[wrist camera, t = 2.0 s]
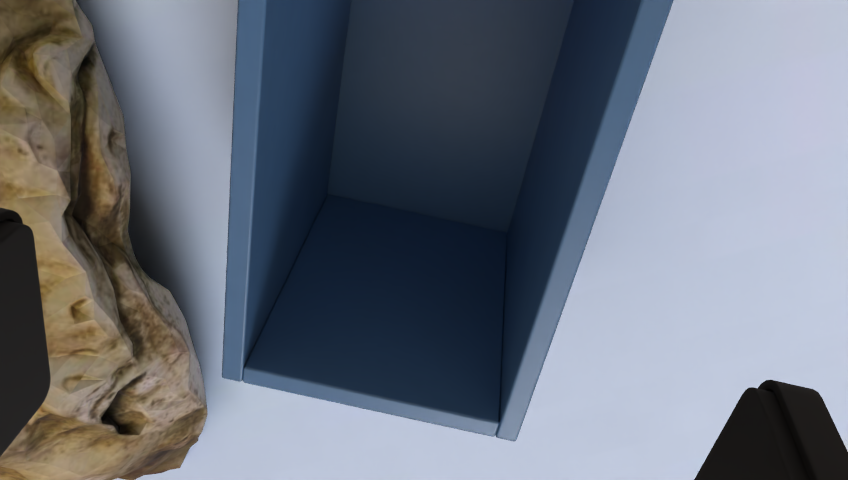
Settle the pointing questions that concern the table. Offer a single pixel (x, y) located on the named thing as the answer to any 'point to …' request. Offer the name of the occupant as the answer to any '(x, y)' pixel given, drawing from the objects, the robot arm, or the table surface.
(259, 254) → the blue bin
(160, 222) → the table surface
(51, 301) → the rock
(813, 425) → the robot arm
